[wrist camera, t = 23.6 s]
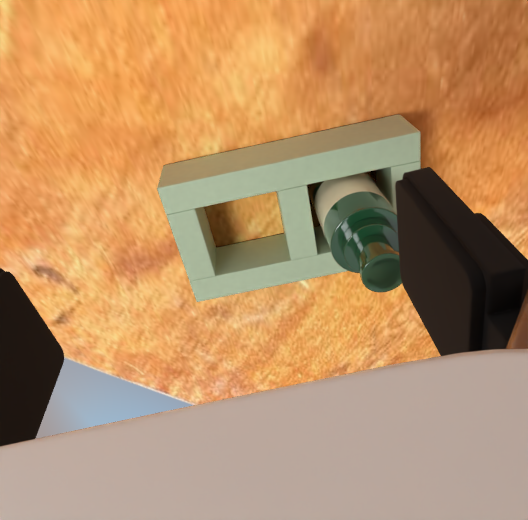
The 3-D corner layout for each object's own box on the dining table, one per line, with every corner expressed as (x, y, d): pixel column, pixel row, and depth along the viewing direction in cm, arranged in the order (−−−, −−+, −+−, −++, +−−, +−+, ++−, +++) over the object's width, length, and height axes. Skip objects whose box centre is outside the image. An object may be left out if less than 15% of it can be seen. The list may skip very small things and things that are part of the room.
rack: (163, 165, 37) (156, 188, 33) (399, 113, 36) (420, 131, 32) (198, 272, 42) (196, 302, 39) (403, 229, 42) (421, 256, 38)
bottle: (346, 145, 37) (398, 219, 26) (381, 189, 39) (442, 274, 29) (296, 186, 39) (325, 273, 28) (332, 226, 41) (373, 320, 30)
